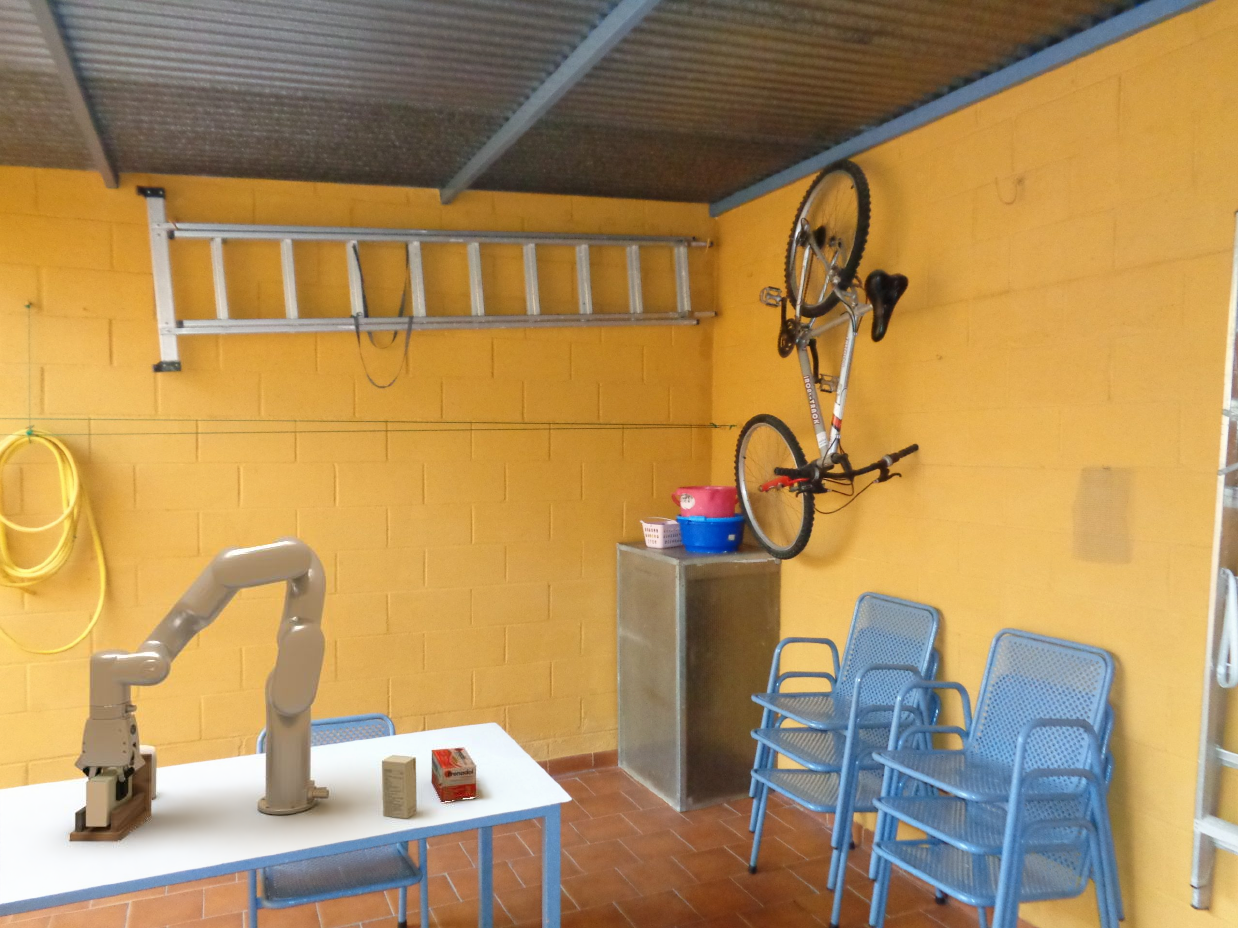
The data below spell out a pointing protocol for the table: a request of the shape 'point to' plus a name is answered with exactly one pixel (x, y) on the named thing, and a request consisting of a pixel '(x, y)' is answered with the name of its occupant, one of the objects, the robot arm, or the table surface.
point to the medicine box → (453, 774)
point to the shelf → (121, 810)
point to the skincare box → (399, 786)
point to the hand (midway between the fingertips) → (109, 797)
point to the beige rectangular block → (103, 797)
